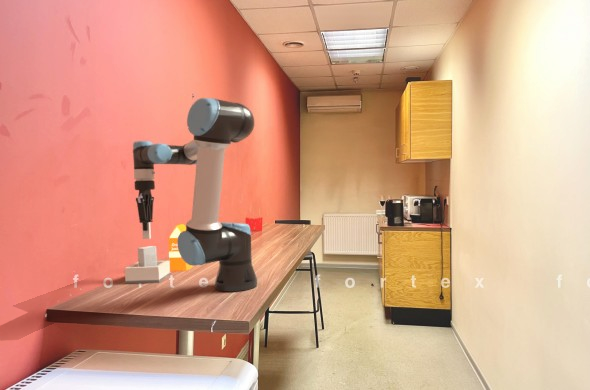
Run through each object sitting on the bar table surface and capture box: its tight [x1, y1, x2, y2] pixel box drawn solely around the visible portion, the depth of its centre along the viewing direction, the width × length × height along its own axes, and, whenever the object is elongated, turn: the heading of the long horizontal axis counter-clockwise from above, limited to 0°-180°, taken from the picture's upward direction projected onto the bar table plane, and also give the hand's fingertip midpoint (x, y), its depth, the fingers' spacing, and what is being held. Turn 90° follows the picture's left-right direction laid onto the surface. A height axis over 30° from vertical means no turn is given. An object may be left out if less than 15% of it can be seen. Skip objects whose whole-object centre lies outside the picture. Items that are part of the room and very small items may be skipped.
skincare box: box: [137, 245, 158, 267], centre depth 155 cm, size 6×4×12 cm
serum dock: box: [124, 260, 171, 284], centre depth 156 cm, size 13×13×6 cm
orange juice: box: [168, 223, 194, 272], centre depth 174 cm, size 8×9×20 cm
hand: (146, 238), depth 155 cm, fingers closed
